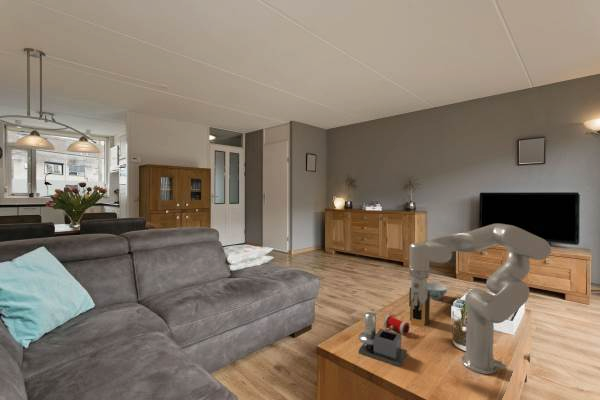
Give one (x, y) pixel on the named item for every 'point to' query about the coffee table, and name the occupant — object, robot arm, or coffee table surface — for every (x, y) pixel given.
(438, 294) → the chinaware
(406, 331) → the toy hammer
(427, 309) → the canister
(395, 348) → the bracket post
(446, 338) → the coffee table surface
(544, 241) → the robot arm
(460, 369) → the coffee table surface
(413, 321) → the orange rectangular block
